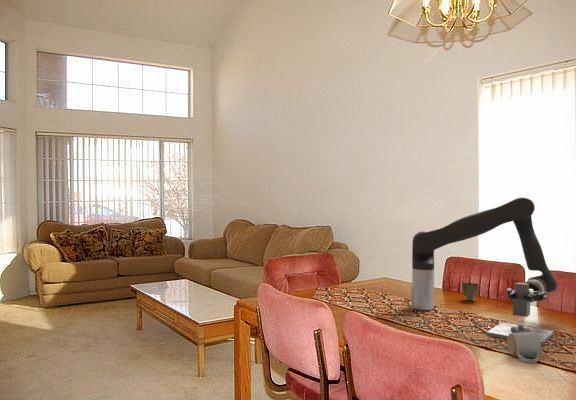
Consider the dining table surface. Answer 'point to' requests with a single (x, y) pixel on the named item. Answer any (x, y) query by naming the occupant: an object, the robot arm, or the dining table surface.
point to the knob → (521, 300)
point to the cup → (470, 290)
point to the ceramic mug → (524, 346)
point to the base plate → (519, 331)
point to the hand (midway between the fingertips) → (519, 297)
